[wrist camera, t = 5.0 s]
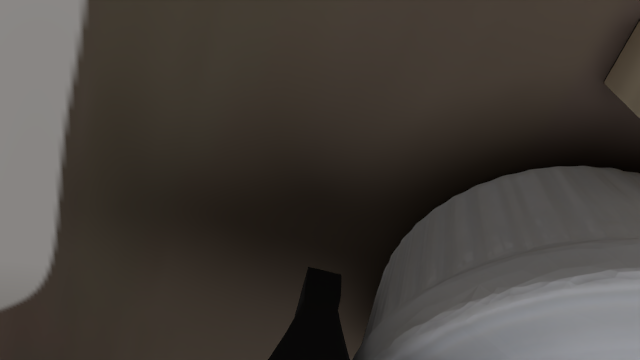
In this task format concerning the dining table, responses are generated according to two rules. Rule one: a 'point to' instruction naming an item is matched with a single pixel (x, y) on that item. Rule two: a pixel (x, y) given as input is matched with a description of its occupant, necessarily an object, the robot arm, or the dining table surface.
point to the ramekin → (517, 273)
